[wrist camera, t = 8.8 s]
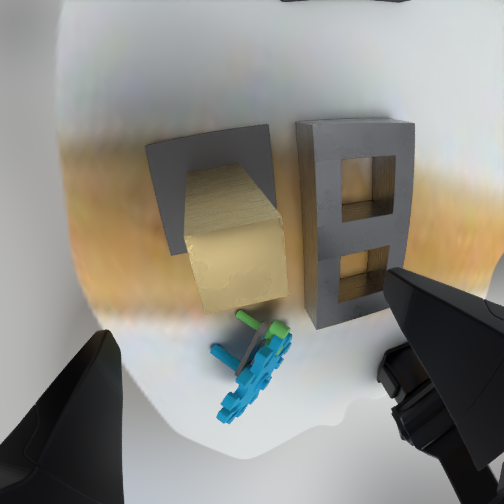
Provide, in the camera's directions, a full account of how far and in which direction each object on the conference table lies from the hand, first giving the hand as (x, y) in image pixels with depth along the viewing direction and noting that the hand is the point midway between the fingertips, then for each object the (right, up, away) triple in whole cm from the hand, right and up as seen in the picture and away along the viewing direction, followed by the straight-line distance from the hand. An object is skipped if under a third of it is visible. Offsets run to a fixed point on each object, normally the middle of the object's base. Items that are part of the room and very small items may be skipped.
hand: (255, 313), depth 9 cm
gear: (0, -7, +19) cm, 20 cm away
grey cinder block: (+8, +4, +14) cm, 17 cm away
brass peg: (-2, +6, +11) cm, 12 cm away
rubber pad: (-3, +6, +11) cm, 13 cm away
